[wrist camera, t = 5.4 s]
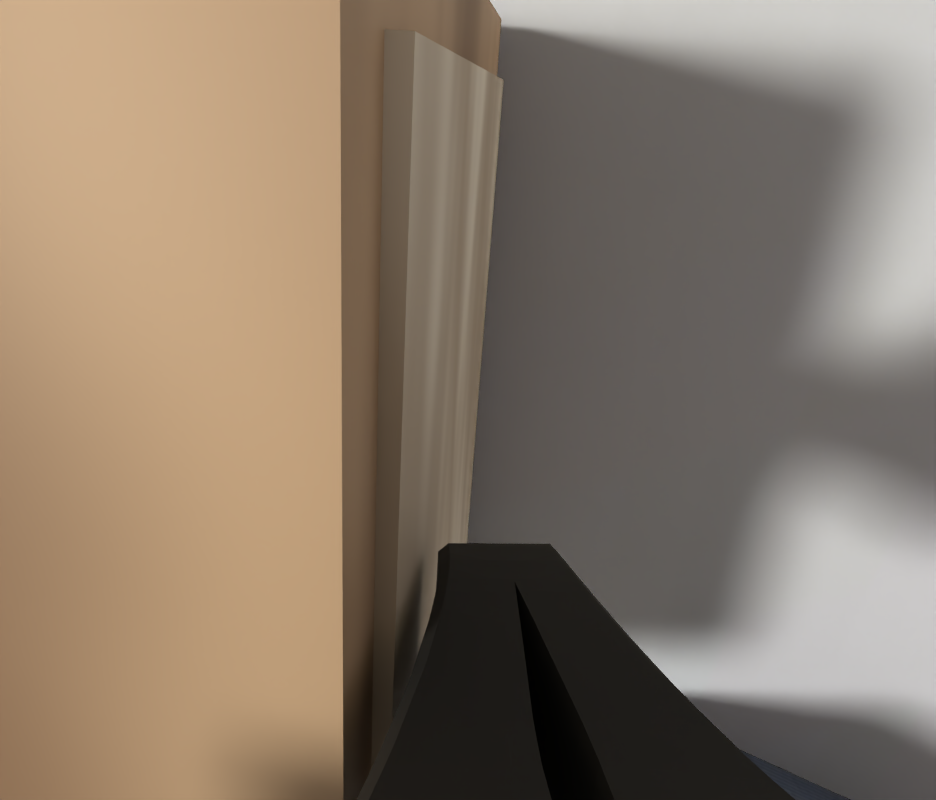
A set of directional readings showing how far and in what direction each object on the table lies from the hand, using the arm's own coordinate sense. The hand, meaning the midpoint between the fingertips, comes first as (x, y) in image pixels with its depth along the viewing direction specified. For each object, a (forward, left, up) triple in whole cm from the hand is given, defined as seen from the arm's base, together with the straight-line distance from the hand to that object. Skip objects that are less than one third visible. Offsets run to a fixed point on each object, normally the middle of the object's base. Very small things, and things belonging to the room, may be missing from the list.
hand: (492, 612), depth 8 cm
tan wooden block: (+2, 0, -8) cm, 8 cm away
